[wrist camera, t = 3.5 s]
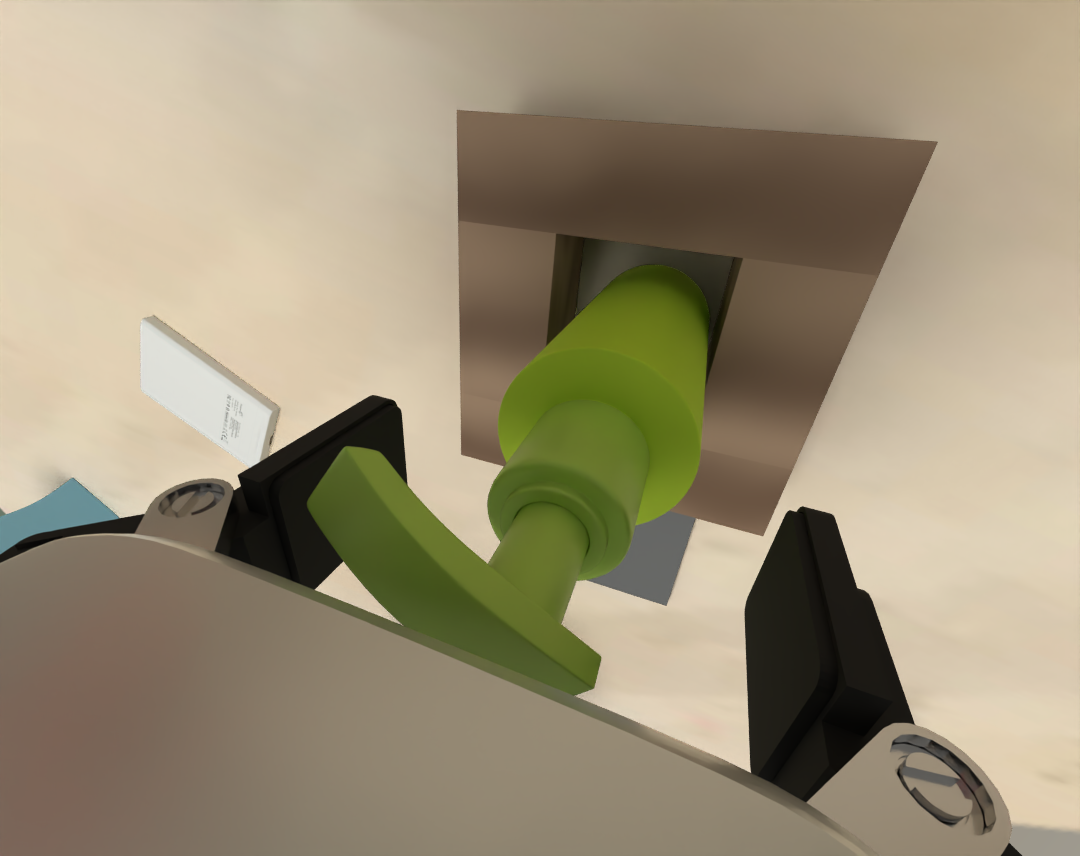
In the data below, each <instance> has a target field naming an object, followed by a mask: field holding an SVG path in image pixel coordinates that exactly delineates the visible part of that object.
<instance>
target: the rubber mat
mask: <svg viewBox="0 0 1080 856" xmlns="http://www.w3.org/2000/svg"><path fill="white" fill-rule="evenodd" d="M694 521H695V518H693V517H690V516H686V515H682V514H679V513H675V512H671V511H668V512H666V513H665V514H663V515H661V516H660V517H658V518H656V519H653V520H651V521H649V522H646V523H643V524H639V525H635V530H634V534H633V538H632V541H631V545H630V548H629V550H628V552H627V554H626V556H625V558H624V559H623V560H622V562H621V563H620V564H619V565H618V566H617V567H616V568H615V569H613V570H612V571H610V572H609V573H607V574H605V575H603V576H600V577H597V578H593V579H589V580H588V581H591V582H594V583H597V584H600V585H603V586H606V587H609V588H612V589H616V590H619V591H622V592H625V593H628V594H631V595H634V596H637V597H640V598H644V599H647V600H650V601H653V602H656V603H659V604H662V605H665V606H667V603H668V600H669V597H670V594H671V590H672V587H673V584H674V581H675V578H676V575H677V572H678V569H679V566H680V563H681V560H682V557H683V554H684V551H685V548H686V545H687V542H688V539H689V536H690V533H691V530H692V527H693V524H694Z"/></svg>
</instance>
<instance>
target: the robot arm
mask: <svg viewBox="0 0 1080 856" xmlns="http://www.w3.org/2000/svg"><path fill="white" fill-rule="evenodd" d="M346 446H351V447H361V448H367V449H371V450H376V451H379V452H380V453H381V454H382V455H383V456H384V457H385V458H386V459H387V460H388V462H389V463H390V464H391V465H392V467H393V468H394V469H395V471H396V472H397V473H398V474H399V476H400V477H401V478H402V479H403V481H404V482H405V483H406V484H407V473H406V461H405V448H404V436H403V424H402V413H401V410H400V408H399V407H397V404H396V402H395V401H393V400H391V399H387V398H383V397H379V396H375V395H372V396H369V397H367V398H366V399H364V400H362V401H361V402H359V403H357V404H356V405H354V406H352V407H351V408H349V409H347V410H346V411H344V412H342V413H341V414H339V415H337V416H336V417H334V418H332V419H331V420H329V421H327V422H326V423H324V424H322V425H321V426H319V427H317V428H316V429H314V430H312V431H311V432H309V433H307V434H306V435H304V436H302V437H301V438H299V439H297V440H295V441H294V442H292V443H290V444H289V445H287V446H285V447H284V448H282V449H280V450H279V451H277V452H275V453H274V454H272V455H270V456H269V457H267V458H265V459H264V460H262V461H260V462H259V463H257V464H255V465H254V466H252V467H250V468H249V469H247V470H245V471H244V472H242V473H240V474H239V475H238V478H239V481H240V484H241V487H239V488H237V489H236V490H234V489H233V487H232V486H231V484H230V483H228V482H226V481H224V480H220V479H213V478H211V479H198V480H193V481H188V482H185V483H182V484H179V485H176V486H174V487H172V488H170V489H168V490H166V491H164V492H163V493H162V494H160V495H159V496H158V497H156V498H155V499H154V501H153V502H152V503H151V504H150V506H149V508H148V510H147V511H146V513H145V514H142V515H136V516H130V517H125V518H119V519H114V520H108V521H102V522H97V523H91V524H86V525H80V526H75V527H69V528H63V529H58V530H54V531H48V532H42V533H38V534H34V535H32V536H29V537H27V538H25V539H23V540H21V541H19V542H18V543H16V544H15V545H14V546H12V547H10V548H9V549H7V550H6V551H4V552H3V553H2V554H0V856H1022V855H1021V854H1020V853H1019V852H1018V851H1017V850H1016V849H1015V848H1014V847H1013V846H1012V845H1011V844H1010V843H1009V840H1010V836H1011V832H1012V825H1011V820H1010V816H1009V811H1008V809H1007V807H1006V805H1005V803H1004V801H1003V799H1002V797H1001V795H1000V793H999V791H998V789H997V788H996V787H995V786H994V784H993V783H992V782H991V780H990V779H989V778H988V776H987V775H986V774H985V773H984V771H983V770H982V769H981V768H980V767H979V766H978V765H977V764H976V763H975V762H974V761H973V760H972V759H971V758H970V757H969V756H968V755H967V754H966V753H965V752H963V751H962V750H961V749H959V748H958V747H956V746H955V745H954V744H952V743H951V742H950V741H948V740H947V739H945V738H944V737H942V736H940V735H938V734H936V733H934V732H932V731H930V730H928V729H926V728H924V727H920V726H917V725H915V724H914V721H913V718H912V715H911V712H910V709H909V706H908V703H907V700H906V697H905V694H904V692H903V689H902V686H901V683H900V680H899V677H898V674H897V671H896V668H895V665H894V662H893V660H892V657H891V654H890V651H889V648H888V645H887V642H886V639H885V636H884V633H883V631H882V628H881V625H880V622H879V619H878V616H877V613H876V610H875V607H874V604H873V601H872V599H871V597H870V595H869V594H868V593H867V592H866V591H864V590H861V589H858V588H857V586H856V583H855V580H854V577H853V573H852V570H851V567H850V564H849V561H848V558H847V555H846V551H845V548H844V545H843V542H842V539H841V536H840V533H839V529H838V526H837V523H836V520H835V517H834V516H833V515H832V514H830V513H826V512H822V511H818V510H814V509H810V508H807V507H803V506H802V507H800V508H799V509H798V510H797V512H794V511H791V510H789V511H788V512H787V513H786V515H785V517H784V519H783V521H782V523H781V526H780V528H779V530H778V532H777V534H776V536H775V539H774V541H773V543H772V545H771V547H770V550H769V552H768V554H767V556H766V558H765V561H764V563H763V565H762V567H761V569H760V572H759V574H758V576H757V578H756V580H755V583H754V585H753V587H752V589H751V591H750V593H749V596H748V598H747V601H746V606H745V638H746V664H747V691H748V717H749V743H750V767H751V773H750V772H748V771H746V770H743V769H741V768H739V767H737V766H735V765H733V764H731V763H729V762H727V761H725V760H723V759H721V758H719V757H716V756H714V755H712V754H709V753H707V752H705V751H702V750H700V749H698V748H695V747H693V746H691V745H689V744H686V743H684V742H682V741H679V740H677V739H675V738H672V737H670V736H668V735H665V734H663V733H661V732H658V731H656V730H654V729H652V728H649V727H647V726H645V725H642V724H640V723H638V722H635V721H633V720H631V719H628V718H626V717H624V716H621V715H619V714H616V713H614V712H612V711H609V710H607V709H604V708H602V707H600V706H597V705H595V704H592V703H590V702H587V701H585V700H583V699H580V698H578V697H575V696H573V695H571V694H568V693H566V692H563V691H561V690H558V689H556V688H554V687H551V686H549V685H546V684H544V683H542V682H539V681H537V680H534V679H532V678H529V677H527V676H525V675H522V674H520V673H517V672H515V671H513V670H510V669H508V668H505V667H503V666H500V665H498V664H496V663H493V662H491V661H488V660H486V659H483V658H481V657H478V656H476V655H474V654H471V653H469V652H466V651H464V650H461V649H459V648H456V647H454V646H452V645H449V644H447V643H444V642H442V641H439V640H437V639H434V638H432V637H430V636H427V635H425V634H422V633H420V632H417V631H415V630H412V629H410V628H407V627H405V626H402V625H400V624H398V623H395V622H393V621H390V620H388V619H385V618H383V617H380V616H378V615H375V614H373V613H370V612H368V611H366V610H363V609H361V608H358V607H356V606H353V605H351V604H348V603H346V602H343V601H341V600H338V599H336V598H333V597H331V596H328V595H326V594H323V593H321V592H318V591H316V590H315V589H316V588H317V587H318V586H319V585H320V584H321V583H322V582H323V581H324V580H325V579H326V578H327V577H328V576H329V575H330V574H331V573H332V572H333V571H334V570H335V569H336V568H337V567H338V566H339V565H340V564H341V563H342V562H343V560H342V559H341V557H340V556H339V555H338V553H337V552H336V551H335V549H334V548H333V546H332V545H331V544H330V542H329V541H328V539H327V538H326V537H325V535H324V534H323V532H322V531H321V529H320V528H319V526H318V525H317V523H316V522H315V520H314V518H313V517H312V515H311V513H310V512H309V510H308V508H307V501H308V499H309V497H310V496H311V494H312V493H313V491H314V490H315V488H316V487H317V485H318V484H319V482H320V481H321V479H322V478H323V476H324V475H325V473H326V472H327V470H328V469H329V467H330V466H331V464H332V463H333V462H334V460H335V459H336V457H337V456H338V454H339V453H340V452H341V450H342V449H343V448H344V447H346ZM407 486H408V485H407Z"/></svg>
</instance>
